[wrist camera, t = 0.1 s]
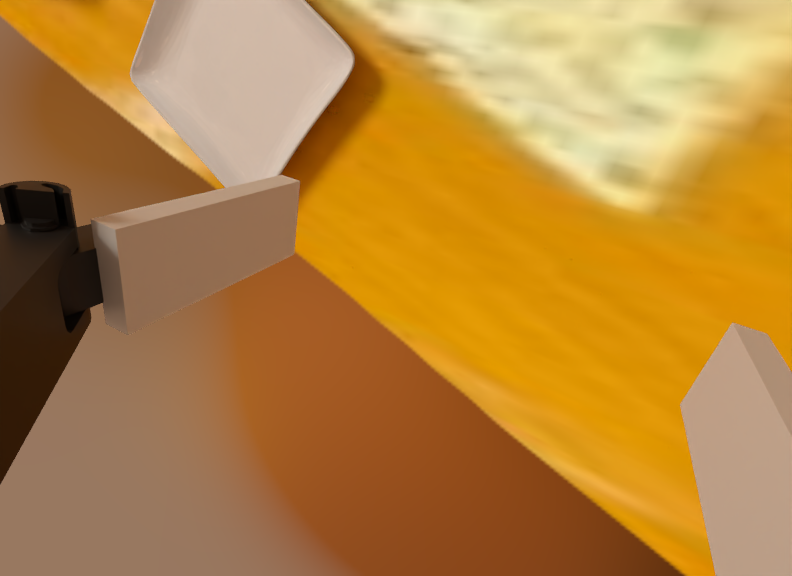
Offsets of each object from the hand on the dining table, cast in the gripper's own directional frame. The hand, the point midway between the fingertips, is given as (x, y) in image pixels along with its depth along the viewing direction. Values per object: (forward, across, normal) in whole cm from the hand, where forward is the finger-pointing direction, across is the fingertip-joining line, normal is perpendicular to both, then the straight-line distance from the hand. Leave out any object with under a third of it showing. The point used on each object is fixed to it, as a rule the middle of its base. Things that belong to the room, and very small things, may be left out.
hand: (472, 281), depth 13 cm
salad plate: (+29, -33, +1) cm, 44 cm away
